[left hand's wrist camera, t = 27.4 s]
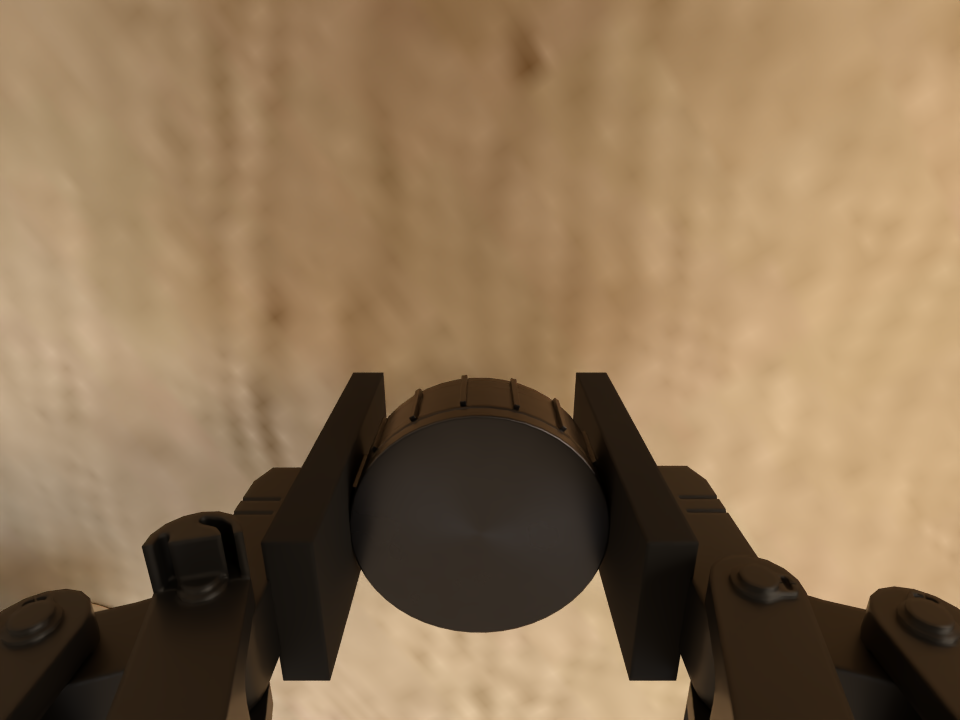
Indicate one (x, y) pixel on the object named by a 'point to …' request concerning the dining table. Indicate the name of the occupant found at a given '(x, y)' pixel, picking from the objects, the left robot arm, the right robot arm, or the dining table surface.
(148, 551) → the left robot arm
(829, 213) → the dining table surface
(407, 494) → the lid
